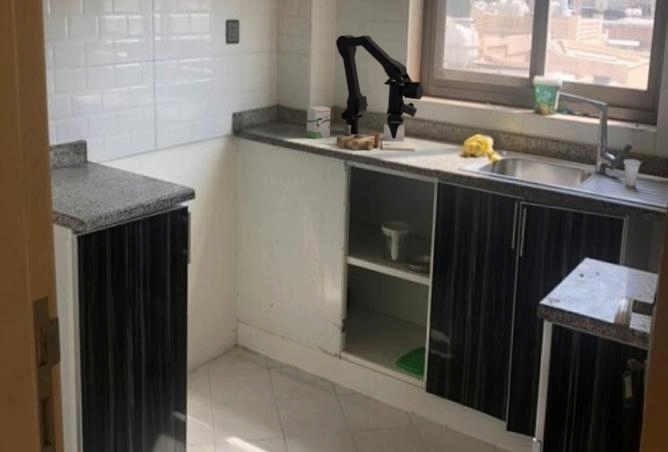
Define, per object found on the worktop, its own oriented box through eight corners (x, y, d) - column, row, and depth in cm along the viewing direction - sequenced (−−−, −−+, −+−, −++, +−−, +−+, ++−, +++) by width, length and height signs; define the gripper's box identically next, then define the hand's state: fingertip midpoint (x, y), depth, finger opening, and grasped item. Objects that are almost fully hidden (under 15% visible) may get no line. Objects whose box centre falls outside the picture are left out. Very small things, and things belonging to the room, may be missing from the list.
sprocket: (328, 145, 320) (328, 126, 318) (353, 139, 332) (354, 121, 330) (361, 151, 311) (362, 132, 309) (386, 145, 323) (387, 127, 321)
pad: (382, 143, 328) (382, 141, 327) (413, 145, 327) (413, 142, 327) (382, 149, 317) (382, 146, 317) (414, 151, 317) (414, 148, 316)
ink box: (314, 139, 332) (315, 109, 329) (305, 137, 336) (306, 107, 332) (330, 136, 338) (331, 107, 334) (321, 134, 341) (322, 105, 338)
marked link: (383, 138, 339) (384, 123, 337) (403, 139, 338) (404, 124, 337) (383, 140, 335) (384, 125, 333) (403, 141, 335) (404, 126, 333)
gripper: (417, 101, 322) (414, 141, 327) (415, 94, 340) (412, 132, 345) (388, 100, 323) (386, 140, 327) (387, 93, 341) (385, 131, 345)
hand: (393, 136), depth 336 cm, fingers open, 9 cm apart
